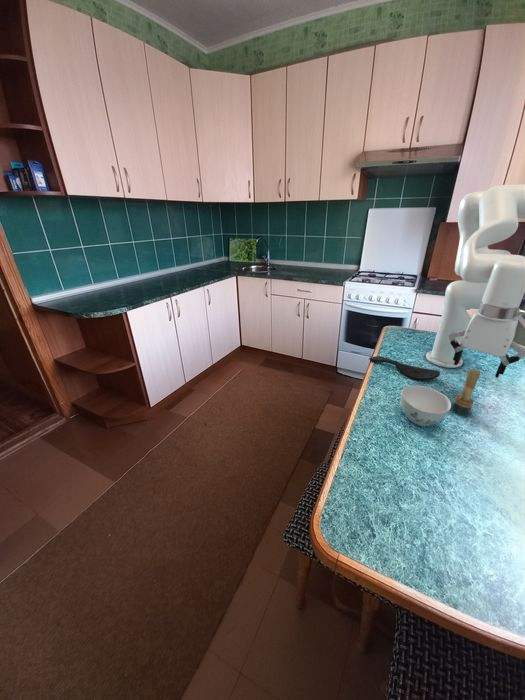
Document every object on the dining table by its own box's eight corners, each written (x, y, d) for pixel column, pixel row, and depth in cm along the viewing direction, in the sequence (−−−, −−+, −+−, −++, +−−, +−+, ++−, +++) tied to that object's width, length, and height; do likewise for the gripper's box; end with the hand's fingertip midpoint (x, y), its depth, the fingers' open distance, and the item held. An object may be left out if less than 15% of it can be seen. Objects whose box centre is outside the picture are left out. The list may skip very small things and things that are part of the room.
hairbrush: (374, 349, 118) (443, 366, 103) (373, 357, 120) (441, 375, 104) (365, 356, 113) (437, 376, 97) (364, 365, 115) (435, 385, 99)
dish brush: (450, 404, 90) (463, 366, 84) (467, 408, 89) (482, 369, 82) (452, 413, 87) (466, 373, 80) (470, 417, 85) (486, 377, 79)
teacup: (439, 441, 77) (447, 418, 73) (390, 422, 84) (396, 400, 80) (448, 412, 87) (456, 390, 84) (404, 397, 94) (409, 376, 91)
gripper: (544, 314, 70) (517, 375, 77) (462, 300, 81) (445, 355, 88) (541, 323, 65) (513, 386, 73) (454, 306, 76) (437, 363, 84)
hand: (476, 369), depth 81 cm, fingers open, 9 cm apart
